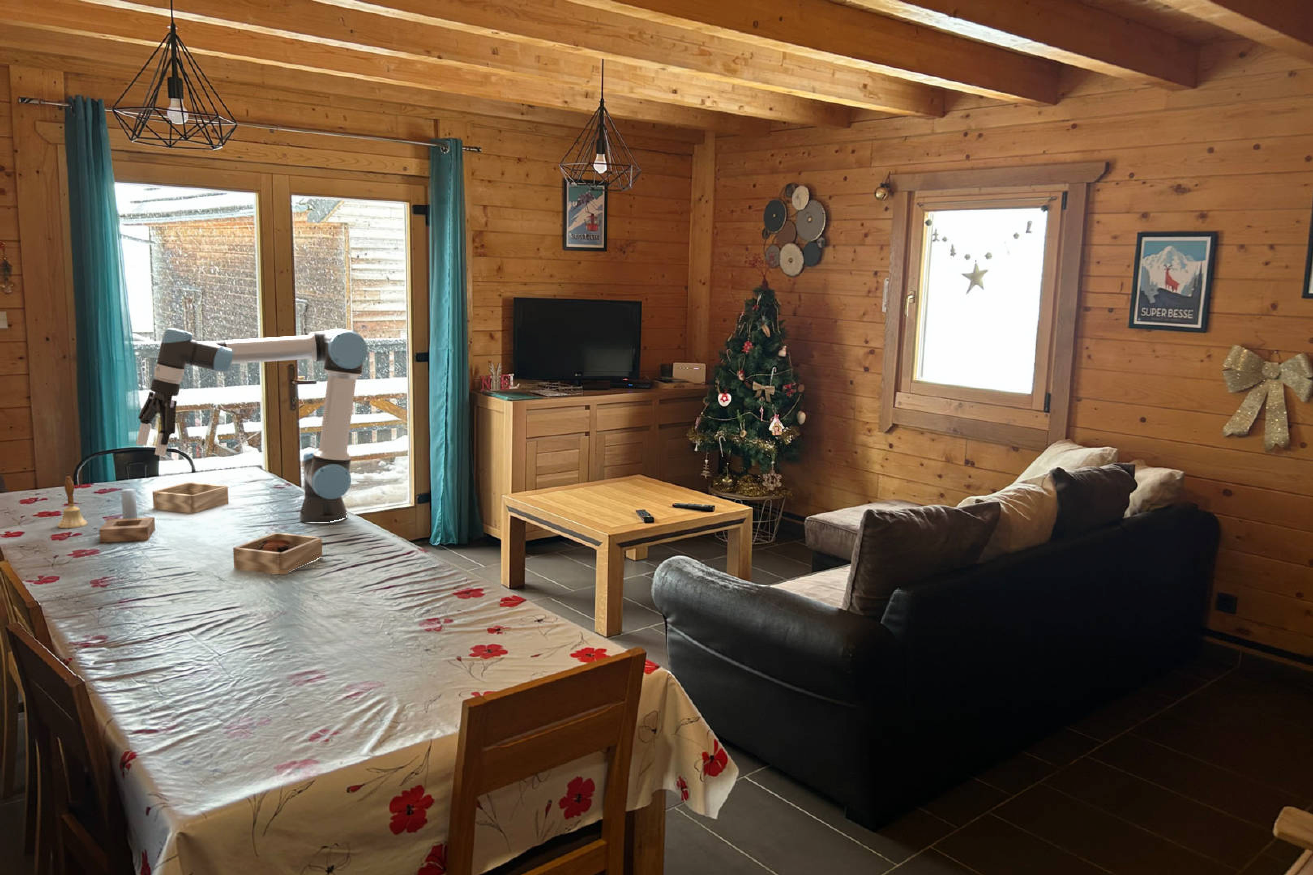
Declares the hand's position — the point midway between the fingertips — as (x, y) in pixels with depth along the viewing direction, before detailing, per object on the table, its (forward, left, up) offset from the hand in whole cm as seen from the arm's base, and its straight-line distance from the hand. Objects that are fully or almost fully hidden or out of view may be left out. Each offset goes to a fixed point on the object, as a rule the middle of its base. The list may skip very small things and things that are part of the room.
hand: (150, 450), depth 286 cm
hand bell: (+41, -9, -29) cm, 51 cm away
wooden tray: (+26, -44, -29) cm, 59 cm away
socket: (+15, -5, -29) cm, 33 cm away
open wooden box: (-46, +3, -29) cm, 54 cm away
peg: (+23, -14, -29) cm, 40 cm away
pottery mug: (-46, +3, -29) cm, 54 cm away
